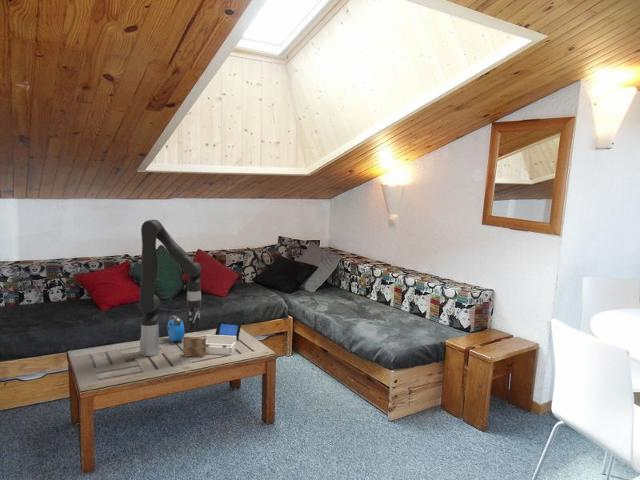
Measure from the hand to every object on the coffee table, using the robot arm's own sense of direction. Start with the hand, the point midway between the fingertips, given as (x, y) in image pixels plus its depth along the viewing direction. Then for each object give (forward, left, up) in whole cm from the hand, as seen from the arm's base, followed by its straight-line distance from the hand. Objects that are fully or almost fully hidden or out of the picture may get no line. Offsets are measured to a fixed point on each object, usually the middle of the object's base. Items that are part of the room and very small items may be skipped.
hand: (194, 327), depth 266 cm
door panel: (0, 0, -16) cm, 16 cm away
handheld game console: (+10, +28, -17) cm, 34 cm away
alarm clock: (-19, +22, -16) cm, 33 cm away
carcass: (+11, +9, -16) cm, 21 cm away
